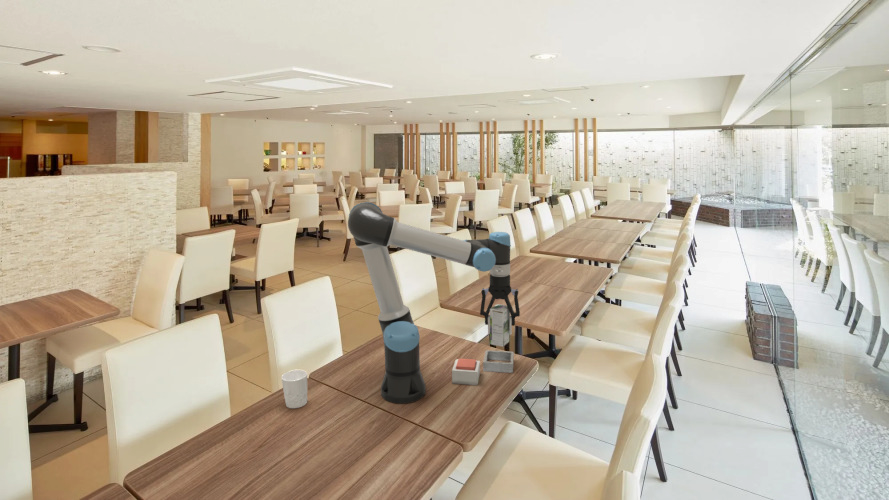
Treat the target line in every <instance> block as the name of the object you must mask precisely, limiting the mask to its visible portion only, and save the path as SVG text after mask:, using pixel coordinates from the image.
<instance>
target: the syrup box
mask: <svg viewBox="0 0 889 500" xmlns="http://www.w3.org/2000/svg"><path fill="white" fill-rule="evenodd" d="M489 315H490V334H489V344H490V345H493V346H497V347H502V348H505V346H507V345H508V343H510V340H511V339H510V337H511V336H510V316H511V314H510V312H509V309H508V307H507V304H506V305H505V304H495V305H492V308H490V312H489Z"/></svg>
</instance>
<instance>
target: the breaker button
mask: <svg viewBox="0 0 889 500" xmlns="http://www.w3.org/2000/svg"><path fill="white" fill-rule="evenodd" d="M476 361H477V359H474V358H472V359H471V358H458V362H457V365H456V369H459V370H474V371H475V368H476Z"/></svg>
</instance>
